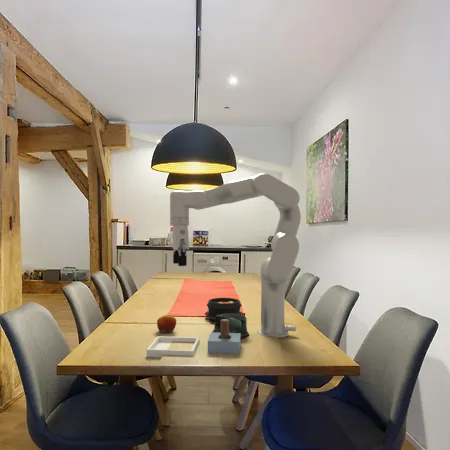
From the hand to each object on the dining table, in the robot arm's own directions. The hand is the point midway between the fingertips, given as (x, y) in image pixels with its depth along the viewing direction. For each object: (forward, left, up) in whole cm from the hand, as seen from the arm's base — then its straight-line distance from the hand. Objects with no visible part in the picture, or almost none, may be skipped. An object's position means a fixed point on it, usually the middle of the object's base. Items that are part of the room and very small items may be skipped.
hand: (179, 264), depth 163 cm
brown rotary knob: (-20, -1, -29) cm, 36 cm away
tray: (-2, +18, -29) cm, 34 cm away
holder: (-20, +17, -29) cm, 39 cm away
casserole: (-16, -33, -29) cm, 47 cm away
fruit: (+6, -6, -29) cm, 30 cm away
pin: (-20, +17, -28) cm, 38 cm away
